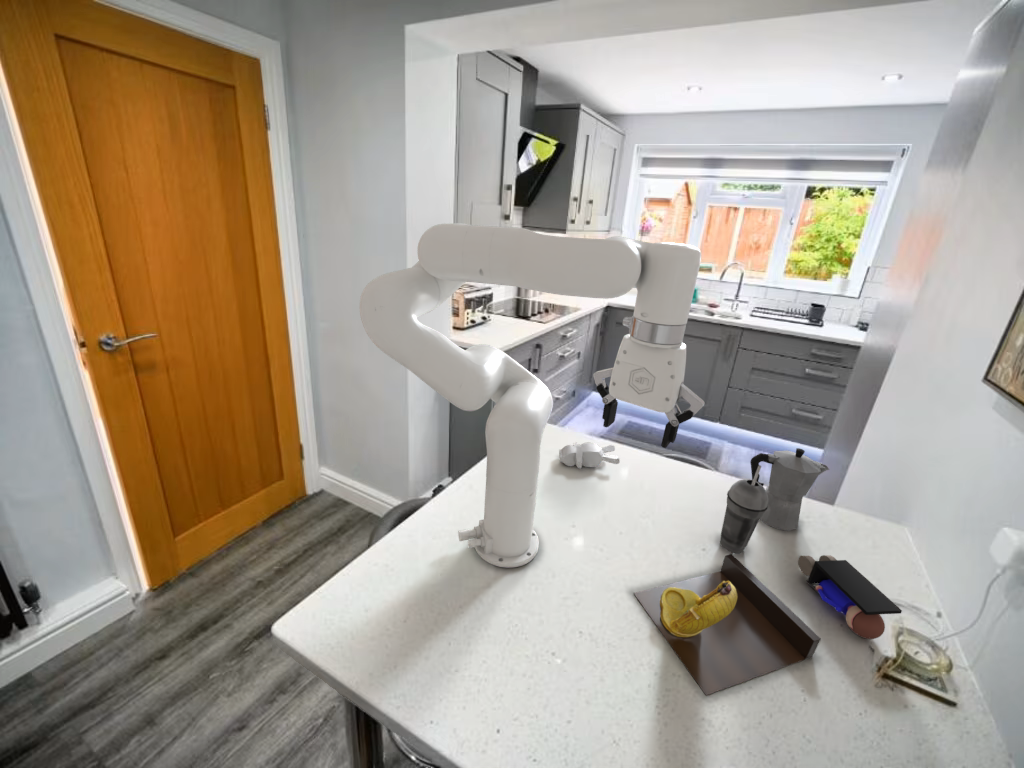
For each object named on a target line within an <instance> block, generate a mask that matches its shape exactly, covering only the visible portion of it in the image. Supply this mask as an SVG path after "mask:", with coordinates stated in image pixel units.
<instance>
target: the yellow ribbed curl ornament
mask: <svg viewBox="0 0 1024 768" xmlns="http://www.w3.org/2000/svg"><path fill="white" fill-rule="evenodd" d="M736 602H737V592H736V589H735V587H734V586H733V585H732V584H731V582H730V581H727V582H725V581H723V582H722V583H721V584H719V586H718V587H717V588H716V589H715V590H714V591H712V592H711V593H709V594H708V595H704V596H703V597H702V598H700V597H699V596H698V595H697V594H695V593H694V592H693V591H691V590H684V589H679V588H675V587H674V588H672V587H671V588H667V589H665V590H664V591H663V593H662V595H661V599H660V610H661V612H660V616H661V617H660V622H661V624H662V626H663V627H664V629H665V631H666V632H667V633H668V634H670V635H671V636H674V637H677V638H682V639H688V638H693V637H695V636H696V635H698V634H699V633H700V632H702V630H703V629H706V628H708V627H710V626H712V625H714V624H716V623H718V622H719V621H721V620H722V619H723V618H725V617H726V616H728V615H729V614H730V613H731V611H732V610H733V609H734V607H735V605H736Z"/></svg>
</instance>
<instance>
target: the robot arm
mask: <svg viewBox="0 0 1024 768" xmlns="http://www.w3.org/2000/svg"><path fill="white" fill-rule="evenodd" d="M417 258H418V261H417V262H416V263H415V264H414V265H413V266H412V267H407V268H403V269H399V270H394V271H390V272H386V273H383V274H381V275H379V276H377V277H375V278H373V279H372V280H371V281H370V282H368V283H367V285H366V286H365V287H364V288H363V290H362V292H361V295H360V300H359V315H360V320H361V323H362V326H363V328H364V331H365V332H366V334H367V336H368V337H369V339H370V340H371V342H372V343H373V344H374V345H375V346H376V348H378V349H379V350H380V351H382V353H384V354H385V355H387V356H388V357H389V358H391V359H392V360H394V361H395V362H397V363H398V364H400V365H401V366H403V367H404V368H405V369H407V370H408V371H410V372H411V373H412V374H413V375H415V376H416V377H417V378H418V379H419V380H421V381H422V382H424V384H426V385H427V386H428V387H429V388H431V389H432V390H434V391H435V392H436V393H438V394H439V395H440V396H441V397H442V398H444V399H445V400H446V401H448V402H449V403H450V404H451V405H453V406H455V407H456V408H458V409H460V410H462V411H465V412H474V411H477V410H479V409H481V408H482V407H484V406H485V405H486V404H487V403H488V402H489V401H490V400H491V401H492V402H493V403H495V405H494V406H493V407H492V409H491V411H490V413H489V414H488V416H487V420H486V423H485V429H484V430H485V432H484V433H485V434H484V437H485V446H486V472H485V491H484V492H485V495H484V510H483V518H482V519H479V520H478V525H475V526H474V528H471V529H461V530H458V532H457V536H458V540H459V542H464V541H465V542H466V541H467V548H468V549H473V548H474V549H475V551H476V553H477V555H478V556H479V557H480V558H481V559H482V560H483V561H485V562H486V563H488V564H490V565H492V566H496V567H499V568H507V569H508V568H517V567H518V568H519V567H521V566H524V565H527V564H528V563H530V562H531V561H532V560H534V558H535V557H536V556H537V554H538V551H539V547H540V539H539V537H538V534H537V533H536V531H535V530H534V519H535V512H536V504H537V503H536V501H537V496H538V495H537V494H538V486H539V485H538V484H539V474H540V466H541V465H540V464H541V445H542V439H543V435H544V431H545V429H546V428H547V427H546V426H547V425H548V421H549V419H550V417H551V415H552V411H553V408H554V399H553V395H552V393H551V391H550V390H549V388H548V386H547V385H546V384H545V383H543V381H542V380H541V379H539V378H538V377H537V376H535V375H534V374H533V373H532V372H530V371H529V370H527V368H525V367H524V366H523V365H522V364H520V363H519V362H517V360H515V359H514V358H512V357H511V356H510V355H508V354H507V353H506V352H504V351H503V350H501V349H500V348H498V347H495V346H493V345H490V344H485V343H484V344H483V343H480V344H474V345H472V346H470V347H468V348H466V349H464V348H462V347H460V346H459V345H457V344H456V343H455V342H453V341H452V340H451V339H450V338H448V337H447V336H446V335H445V334H443V333H442V332H441V331H439V330H437V329H434V328H432V327H431V326H428V325H426V324H423V323H422V322H420V321H419V319H418V318H420V317H422V316H424V315H426V314H428V313H431V312H433V311H434V310H436V309H437V308H439V307H440V306H441V305H442V304H443V303H445V302H446V300H448V299H449V298H450V297H451V296H452V295H453V294H454V293H456V291H457V290H459V289H460V288H461V287H462V286H463V285H464V284H466V283H475V284H485V285H486V284H487V285H498V286H509V287H516V288H521V289H523V290H530V291H535V292H541V293H544V294H545V293H546V294H553V295H559V296H565V297H566V296H567V297H579V298H589V299H603V300H604V299H614V298H619V297H621V296H624V295H626V294H627V293H629V292H630V291H631V290H633V289H636V290H637V291H636V292H637V293H636V298H635V304H634V309H633V315H631V316H629V317H628V316H624V318H622V326H623V327H626V328H628V333H627V334H625V335H623V337H622V340H621V341H620V345H619V348H618V351H617V354H616V356H615V360H614V364H613V367H609V368H604V369H601V370H597V371H594V373H593V374H592V376H593V380H594V383H595V385H596V391H597V392H598V394H599V396H600V397H601V398H602V399H601V401H602V403H603V404H604V405H603V411H602V416H601V418H602V420H603V425H602V426H603V427H604V428H609V427H610V426H611V425H612V424H614V423H615V421H616V416H617V409H618V405H619V401H621V402H625V403H628V404H630V405H634V406H637V407H639V408H644V409H647V410H649V411H652V412H653V411H654V412H656V413H663V414H665V416H666V418H667V420H668V422H667V423H666V424H665V426H664V431H663V434H662V435H663V436H662V438H661V439H662V440H661V444H660V446H661V447H662V448H663V449H667V447H668V446H669V445H670V444H671V443H672V444H673V443H675V441H676V439H677V435H678V430H679V426H680V425H681V424H683V423H685V422H687V421H689V420H691V419H693V417H694V416H695V415H696V414H697V413H698V412H699V411H700V410H702V408H703V407H704V406H705V404H706V403H705V401H704V400H703V399H702V397H700V396H698V395H697V394H696V393H695V392H694V391H693V390H692V389H690V388H689V387H688V386H687V385H685V384H684V381H685V376H686V375H685V374H686V367H687V364H686V363H687V344H685V343H684V342H683V341H684V337H685V333H686V328H687V324H688V321H689V315H690V311H691V307H692V302H693V298H694V294H695V289H696V284H697V281H698V280H697V279H698V275H699V271H700V266H701V263H702V252H701V250H700V249H699V248H698V247H696V246H695V245H691V244H685V243H677V242H676V243H675V242H664V241H663V242H660V241H659V242H658V241H657V242H649V241H648V242H647V241H643V240H637V239H633V238H629V237H625V236H618V235H614V236H609V237H606V238H587V237H585V238H584V237H569V236H558V235H557V236H556V235H548V234H543V233H538V232H535V231H533V230H531V229H528V228H524V227H519V226H517V227H516V226H493V225H477V224H475V225H474V224H470V223H464V222H453V223H450V222H449V223H439V224H435V225H433V226H431V227H429V228H427V229H426V230H425V231H424V232H423V233H422V235H421V236H420V239H419V241H418V244H417ZM606 378H610V379H609V385H608V384H607V383H606ZM681 398H682V399H684V400H685V402H687V403H688V404H689V407H688V408H687V409H684V410H683V411H681V409H680V406H679V405H678V404H679V403H680V400H681ZM618 400H619V401H618Z"/></svg>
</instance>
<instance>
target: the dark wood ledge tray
mask: <svg viewBox="0 0 1024 768" xmlns="http://www.w3.org/2000/svg"><path fill="white" fill-rule="evenodd" d="M723 581H725V582H727V581H730V582H731V584H732V585H733V586H734V587H735V589H736V592H737V602H736V605H735V607H734V609H733V610H732V611H731V613H730V614H729V615H728V616H726V617H725V618H723V619H722V620H721V621H719V622H718V623H716V624H714V625H712V626H710V627H708V628H706V629H703V630H702V632H700V633H699V634H698V635H696V636H695V637H693V638H688V639H682V638H677V637H674V636H671V635H670V634H668V633H667V632H666V631H665V629H664V627H663V626H662V624H661V622H660V617H661V616H660V612H661V610H660V599H661V595H662V593H663V591H664V590H665V589H667V588H671V587H672V588H674V587H675V588H679V589H684V590H691V591H693V592H694V593H695V594H697V595H698V596H699V597H700V598H702V597H703V596H704V595H708V594H709V593H711V592H712V591H714V590H715V589H716V588H717V587H718V586H719V584H721V583H722V582H723ZM633 595H634V596H635V598H636V599H637V601H638V602H639V603H640V604H641V606H642V607H643V609H644V611H645V612H646V613H647V614H648V616H649V617H650V619H651V621H652V622H653V623H654V624H655V626H656V627H657V629H658V630H659V631H660V633H661V635H662V636H663V638H664V639H665V640H666V641H667V643H668V644H669V646H670V647H671V648H672V650H673V651H674V653H675V654H676V655H677V657H678V658H679V660H680V662H681V663H682V664H683V665H684V667H685V668H686V670H687V671H688V672H689V674H690V675H691V676H692V678H693V680H694V681H695V683H696V684H697V685H698V686H699V688H700V689H701V691H702V692H703V694H704V695H705V696H710V695H711V694H714V693H717V692H721V691H722V690H725V689H728V688H731V687H734V686H737V685H739V684H742V683H744V682H747V681H751V680H753V679H756V678H758V677H761V676H764V675H767V674H769V673H773V672H774V671H778V670H780V669H783V668H786V667H788V666H791V665H795V664H796V663H800V662H803V661H805V660H808V659H810V658H813V656H814V655H815V652H816V650H817V648H818V646H819V644H820V642H821V641H822V638H821V637H820V636H819V635H818V634H817V633H816V632H814V631H813V630H812V629H811V628H810V627H809V626H808V625H807V624H806V623H805V622H804V621H803V620H802V619H801V618H800V617H799V616H798V615H796V613H795V612H794V611H792V610H791V609H790V608H789V607H788V606H787V605H786V604H785V603H784V602H783V601H782V600H781V599H779V597H778V596H776V595H775V594H774V593H773V592H772V591H771V590H770V589H769V588H768V587H767V586H766V585H765V584H764V583H763V582H762V581H761V580H760V579H759V578H758V577H756V575H754V574H753V573H752V571H750V570H749V568H747V567H746V566H745V565H744V564H743V563H742V562H741V561H739V559H737V558H736V557H735V556H734V555H733V553H730V554H726V555H724V559H723V562H722V564H721V568H720V570H719V571H716V572H711V573H708V574H704V575H699V576H695V577H691V578H688V579H683V580H680V581H675V582H672V583H668V584H667V583H666V584H664V585H663V584H662V585H660V586H656V587H652V588H648V589H643V590H640V591H636V592H633Z"/></svg>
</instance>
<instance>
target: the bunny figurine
mask: <svg viewBox="0 0 1024 768" xmlns="http://www.w3.org/2000/svg"><path fill="white" fill-rule="evenodd" d="M615 450H616V447H615V446H614V445H612V444H609V445H607V446H603V447H600V446H599V445H598V444H597V442H592V441H590V442H589V441H588V442H584V443H581V444H579V443H578V442H573V443H572V444H566V445H565V446H563V447H562V448H561V449H558V456H559V457H558V458H559V462H560V463H563V464H564V465H565V466H568V467H574V466H576V467H577V469H582V468H583V467H585V468H596V467H597V468H598V467H599V466H600V465H601V464H602V463H603V462H607V463H610V464H613V465H619V464H620V461H621V460H620V459H621V458H620V457H619V456H617V455H614V454H613V455H611V454H606V453H610V452H614V451H615Z"/></svg>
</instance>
